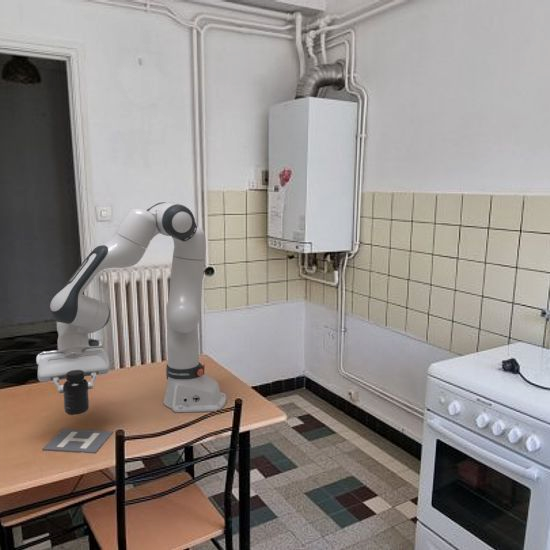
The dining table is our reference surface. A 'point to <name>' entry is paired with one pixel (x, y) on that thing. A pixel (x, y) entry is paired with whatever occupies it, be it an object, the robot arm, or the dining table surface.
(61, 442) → the board
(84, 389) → the supplement bottle
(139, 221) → the robot arm
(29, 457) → the dining table surface
